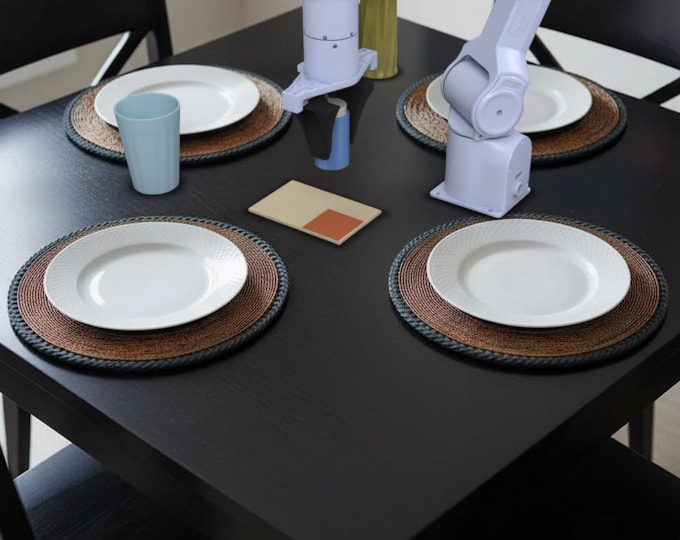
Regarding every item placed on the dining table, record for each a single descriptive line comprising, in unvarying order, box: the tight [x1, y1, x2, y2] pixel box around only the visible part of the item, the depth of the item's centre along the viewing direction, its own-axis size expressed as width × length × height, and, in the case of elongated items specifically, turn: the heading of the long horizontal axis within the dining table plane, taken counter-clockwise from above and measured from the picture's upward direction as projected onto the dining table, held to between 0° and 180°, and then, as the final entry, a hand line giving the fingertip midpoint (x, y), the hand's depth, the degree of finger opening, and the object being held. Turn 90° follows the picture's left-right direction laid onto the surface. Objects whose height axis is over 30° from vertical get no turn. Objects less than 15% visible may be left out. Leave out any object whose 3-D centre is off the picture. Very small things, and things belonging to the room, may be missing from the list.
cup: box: [113, 92, 181, 196], centre depth 125 cm, size 8×8×10 cm
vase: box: [358, 0, 399, 80], centre depth 152 cm, size 6×6×14 cm
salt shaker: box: [313, 97, 351, 171], centre depth 114 cm, size 4×4×7 cm
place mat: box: [248, 179, 382, 246], centre depth 121 cm, size 13×8×1 cm, turn 54°
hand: (332, 149), depth 115 cm, fingers closed on salt shaker, 4 cm apart
